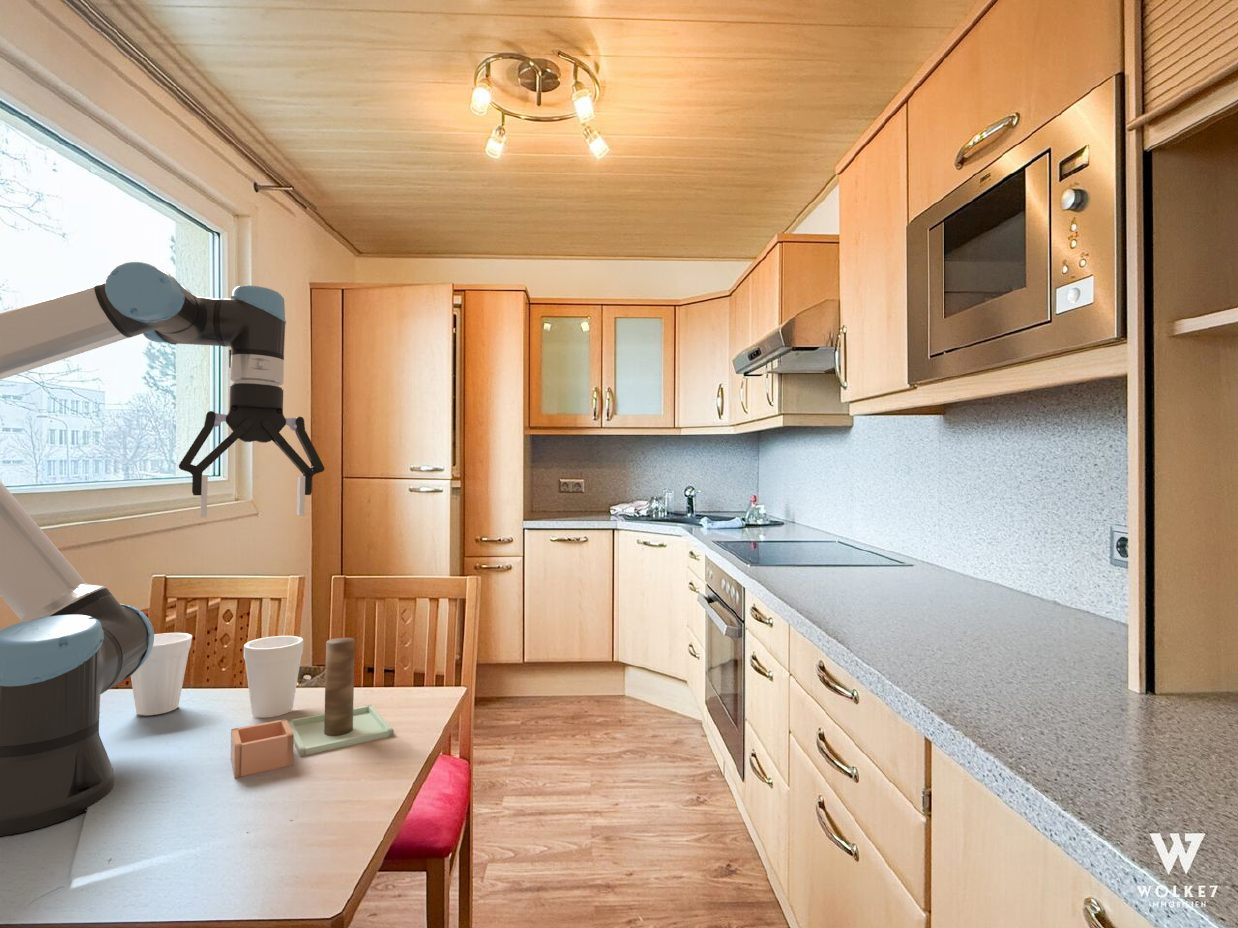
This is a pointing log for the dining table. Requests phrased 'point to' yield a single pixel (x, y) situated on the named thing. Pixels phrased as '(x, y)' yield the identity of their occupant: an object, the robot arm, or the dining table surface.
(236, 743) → the orange open box
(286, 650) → the foam cup
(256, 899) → the dining table surface
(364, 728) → the tray
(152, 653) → the cup
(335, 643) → the dowel
